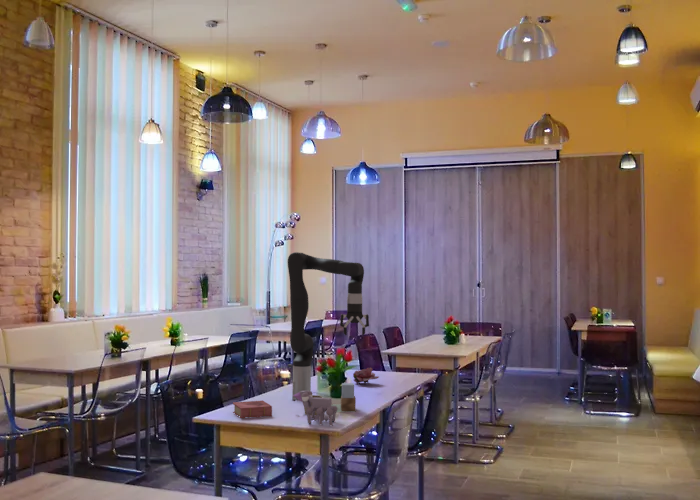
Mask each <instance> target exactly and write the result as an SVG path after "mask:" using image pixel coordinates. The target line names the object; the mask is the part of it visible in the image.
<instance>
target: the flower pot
mask: <svg viewBox="0 0 700 500" xmlns="http://www.w3.org/2000/svg"><path fill="white" fill-rule="evenodd" d="M312 395H313V394H312ZM312 397H313V398H314V397H318V398H323V396H322V395H321V396H320V395H316V394H314V395H313V396H312ZM311 405H312V403H311ZM310 408H311V407H310ZM306 409H307V408H304V416H307V413H306ZM310 415H311V416H312V414H310ZM315 416H318V415H317V413H316V411H315Z"/></svg>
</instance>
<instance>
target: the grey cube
mask: <svg viewBox="0 0 700 500" xmlns="http://www.w3.org/2000/svg"><path fill="white" fill-rule="evenodd" d="M341 396H342V398H354V396H355V383H354V382H342V383H341Z"/></svg>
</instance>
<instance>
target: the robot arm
mask: <svg viewBox="0 0 700 500" xmlns="http://www.w3.org/2000/svg"><path fill="white" fill-rule="evenodd" d="M287 269H288V277H289V292H290V293H289V294H290V295H289V296H290V297H289V298H290V302H289V303H290V318H291V319H290V322H291V323H290V324H291V325H290V328H291V329H290V348H291V349H292V351H293V352H294V353H295V354H296V356H295V357H294V359H293V360H292V389H291V390H292V395H291V396H292V399H291V400H292V401H296V400H298V399H297V398H296V397H294V396H293V395H295V394H297V393H299V392H300V391H311V389H312V388H311V383H312V382H311V381H312V380H311V379H312V372H311V371H312V368H311V367H312V362H313V356H314V354H313V353H314V341H313V338H312V336H311V335H309V334H307V333H305V325H306V324H305V323H306V320H307V317H308V312H309V307H310V306H309V295H308V294H309V293H308V291H307V287H306V285H305V281H304V278H303V276H304V274H303V271H305V270H306V271H307V270H315V271H316V270H318V271H321V272H324V273H329V274H335V275H342V276H347V277H350V281H349V282H348V284H347V298H346V299H347V300H346V304H347V305H346V306H347V307H346V308H347V309H346V314H343V313H341V314H340V321H339V322H340V323H339V326H340V327H343V334H344V335H345V336H347V335H348V333H347V332H348V331H347V330H348V328H347V327H348V325H350V323H351V324H354V323H355V324H360V326H362V327H361V336H365V334H366V328H368V327H369V326H370V322H369V321H370V320H369V318H370V317H369V314H367V313H366V314H363V281H364V277H365V276H364V274H365V268H364V266H363V264H362V263H360V262H353V261H352V262H351V261H349V262H348V261H344V260H340V259H331V258H323V257H321V258H320V257H317V256H316V257H315V256H312V255H309V254H306V253H304V252H297V251H296V252H292V253H290V254H289V256H288V257H287ZM363 318H364V319H365V324H364V322H363V321H362V319H363ZM344 319H347V320H346V322H345V323H344ZM311 392H312V391H311Z"/></svg>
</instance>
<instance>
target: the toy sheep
mask: <svg viewBox="0 0 700 500" xmlns="http://www.w3.org/2000/svg"><path fill="white" fill-rule="evenodd" d="M293 396H294V397H296V398H297V399H296V400H298V401H300V402H302V404H303V407H304V408H307V409H306V413H307V415H306V417H307V424H308V423H311V424H312V421H313V420H314V421H315V416H318V422H319V423H318V425H319V424H322V425H323V422H324V421H325V414H326V415H327V416H328V423H329V424H330V425H332V426H333V422H332V421H335V422H336V415H337V414H336V413H338V412H337V407H336V406H332V402H333V400H332V398H331V397H330V398H329V397H322V398H318V397H314V398H313V397H312V396H313V392H312V391H300V392H299V393H297V394H295V395H293ZM311 403H312V405H311ZM310 407H311V408H310ZM315 411H316V413H317V415H315ZM310 414H312V415H310ZM329 424H328V425H329Z"/></svg>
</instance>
